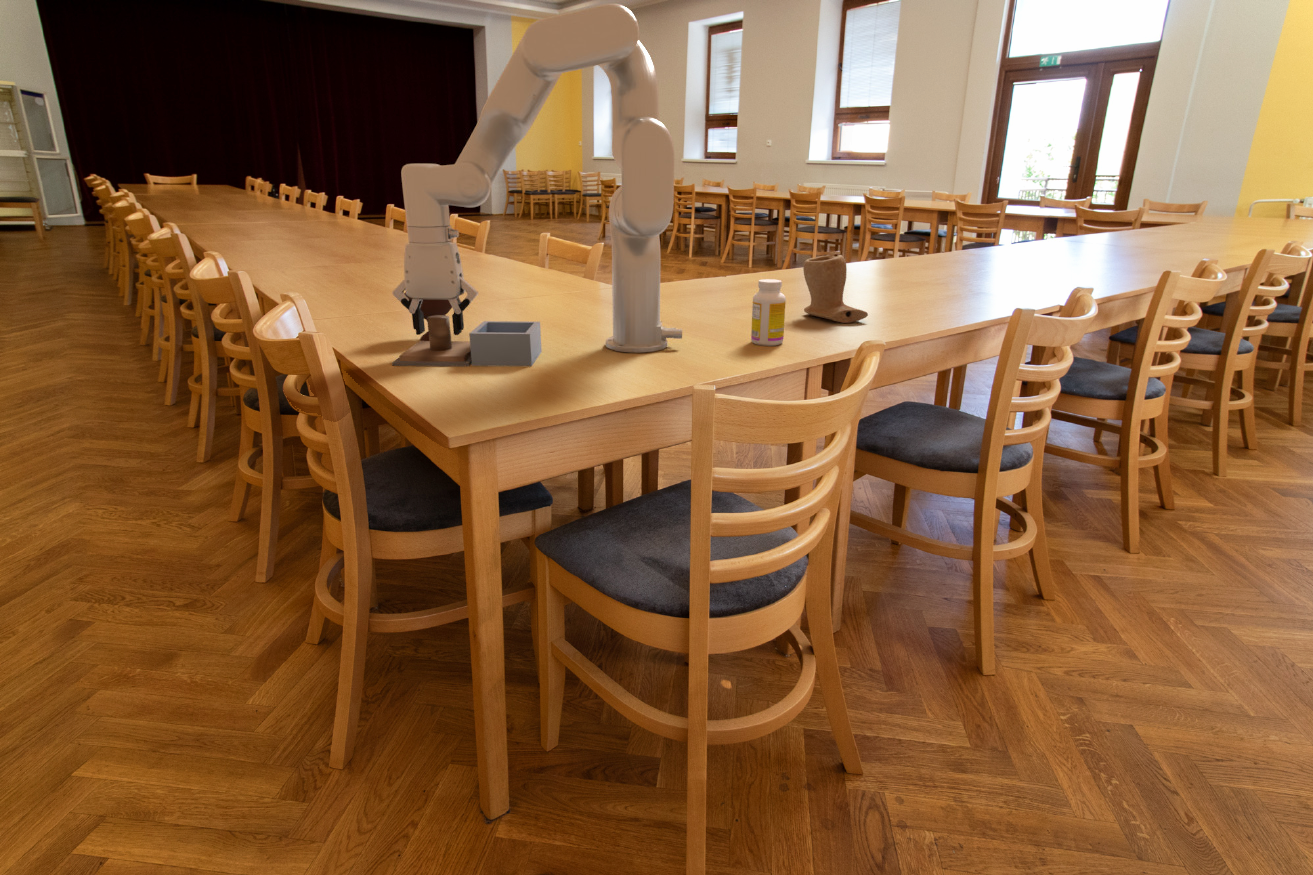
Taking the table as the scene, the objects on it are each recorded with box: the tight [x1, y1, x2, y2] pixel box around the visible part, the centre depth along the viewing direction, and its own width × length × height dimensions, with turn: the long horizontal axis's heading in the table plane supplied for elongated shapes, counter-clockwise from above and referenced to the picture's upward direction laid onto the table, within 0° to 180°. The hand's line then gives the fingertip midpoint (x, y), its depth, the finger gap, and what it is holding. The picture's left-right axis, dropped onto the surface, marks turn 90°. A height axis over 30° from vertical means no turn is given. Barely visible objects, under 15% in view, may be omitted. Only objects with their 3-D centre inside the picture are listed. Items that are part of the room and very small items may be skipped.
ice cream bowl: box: [404, 291, 453, 341], centre depth 154 cm, size 11×11×15 cm
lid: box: [398, 314, 471, 362], centre depth 141 cm, size 12×12×7 cm
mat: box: [391, 356, 472, 367], centre depth 142 cm, size 14×14×1 cm
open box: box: [469, 320, 543, 367], centre depth 140 cm, size 11×11×6 cm
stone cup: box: [803, 254, 869, 324], centre depth 176 cm, size 15×12×15 cm
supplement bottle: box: [750, 278, 786, 347], centre depth 152 cm, size 7×7×13 cm
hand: (439, 332), depth 140 cm, fingers open, 6 cm apart
